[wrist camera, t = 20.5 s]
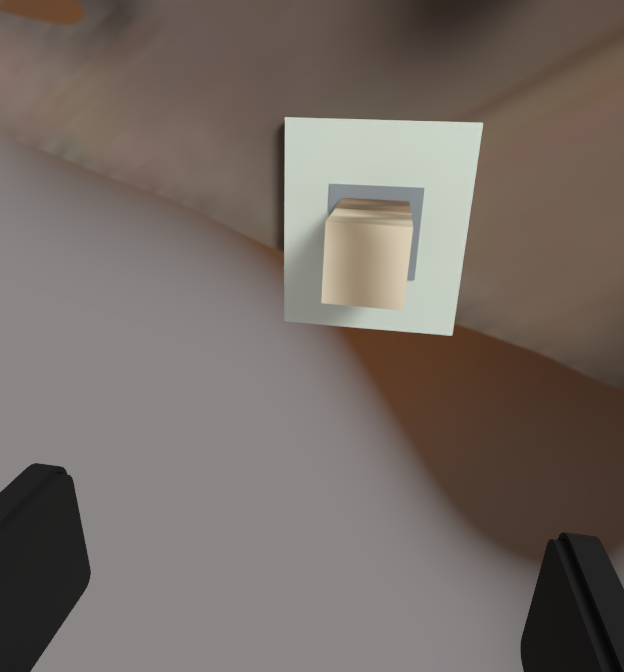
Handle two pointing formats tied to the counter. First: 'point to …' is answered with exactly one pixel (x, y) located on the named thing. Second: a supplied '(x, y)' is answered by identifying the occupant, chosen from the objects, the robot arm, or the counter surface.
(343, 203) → the walnut cube
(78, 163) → the counter surface
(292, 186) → the build board
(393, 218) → the maple cube
